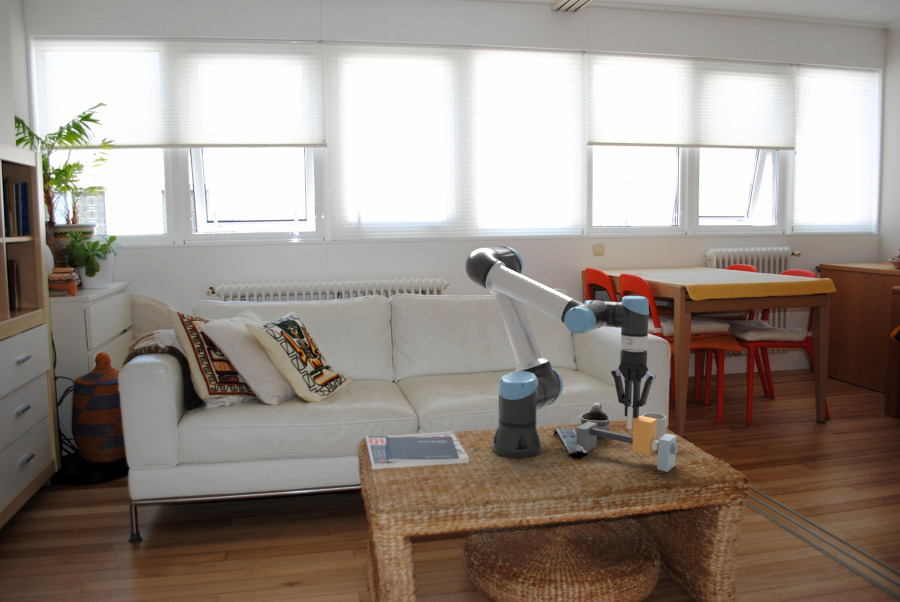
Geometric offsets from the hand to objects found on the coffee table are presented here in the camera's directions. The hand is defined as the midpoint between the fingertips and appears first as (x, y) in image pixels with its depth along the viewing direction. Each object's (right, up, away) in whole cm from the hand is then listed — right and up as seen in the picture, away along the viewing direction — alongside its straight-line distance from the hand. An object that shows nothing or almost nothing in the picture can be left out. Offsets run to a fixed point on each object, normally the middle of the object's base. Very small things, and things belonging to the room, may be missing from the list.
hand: (631, 427), depth 196 cm
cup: (+10, -8, +15) cm, 20 cm away
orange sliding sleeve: (+3, -6, -2) cm, 7 cm away
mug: (-6, -7, +22) cm, 24 cm away
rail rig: (-1, -9, +2) cm, 10 cm away
